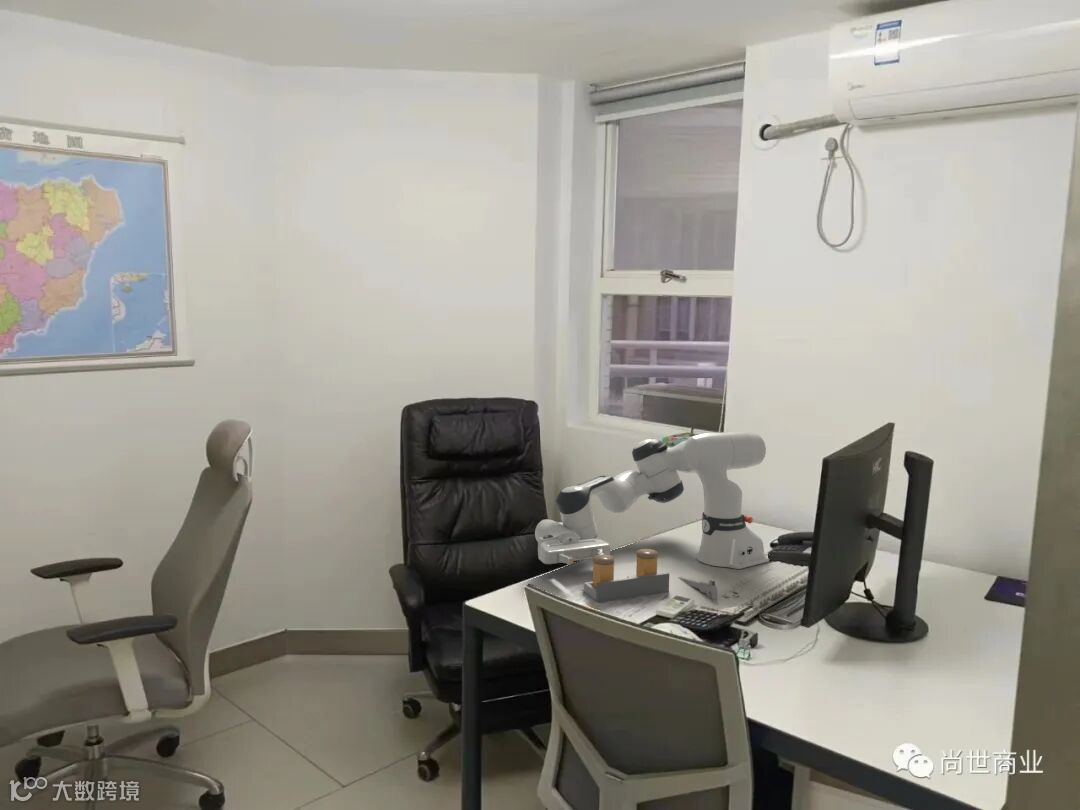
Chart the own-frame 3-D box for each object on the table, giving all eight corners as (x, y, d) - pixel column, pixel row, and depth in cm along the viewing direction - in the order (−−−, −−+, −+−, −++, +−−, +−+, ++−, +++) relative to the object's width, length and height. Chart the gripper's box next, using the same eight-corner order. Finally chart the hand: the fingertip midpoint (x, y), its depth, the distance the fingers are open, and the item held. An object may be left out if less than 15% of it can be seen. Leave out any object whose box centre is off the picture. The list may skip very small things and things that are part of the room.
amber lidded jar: (607, 588, 215) (608, 553, 214) (617, 596, 210) (618, 559, 209) (588, 591, 213) (589, 555, 212) (598, 599, 208) (598, 562, 207)
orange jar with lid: (650, 582, 220) (650, 547, 219) (660, 589, 215) (661, 554, 214) (632, 585, 218) (632, 550, 217) (642, 592, 213) (643, 556, 212)
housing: (649, 583, 223) (650, 562, 222) (668, 595, 214) (669, 573, 213) (581, 593, 215) (581, 571, 214) (597, 607, 206) (598, 583, 205)
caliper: (717, 605, 208) (718, 582, 207) (713, 606, 207) (714, 582, 207) (677, 579, 227) (678, 558, 226) (674, 580, 226) (674, 558, 226)
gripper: (597, 551, 236) (620, 566, 224) (533, 560, 228) (553, 575, 216) (598, 530, 235) (620, 544, 223) (533, 538, 228) (553, 552, 215)
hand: (586, 559), depth 219 cm, fingers open, 8 cm apart
